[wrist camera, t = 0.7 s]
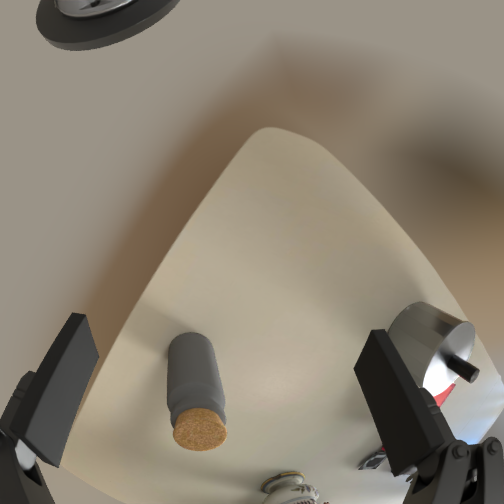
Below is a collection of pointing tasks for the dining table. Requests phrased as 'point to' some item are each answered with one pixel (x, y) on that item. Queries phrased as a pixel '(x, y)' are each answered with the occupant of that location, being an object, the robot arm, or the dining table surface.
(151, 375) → the dining table surface
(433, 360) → the pot lid
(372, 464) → the red board with handle
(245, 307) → the dining table surface
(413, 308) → the pot
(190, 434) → the bottle
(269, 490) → the apothecary jar
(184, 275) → the dining table surface
